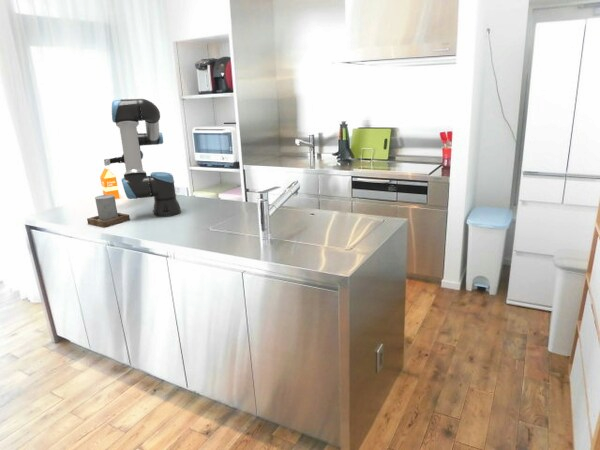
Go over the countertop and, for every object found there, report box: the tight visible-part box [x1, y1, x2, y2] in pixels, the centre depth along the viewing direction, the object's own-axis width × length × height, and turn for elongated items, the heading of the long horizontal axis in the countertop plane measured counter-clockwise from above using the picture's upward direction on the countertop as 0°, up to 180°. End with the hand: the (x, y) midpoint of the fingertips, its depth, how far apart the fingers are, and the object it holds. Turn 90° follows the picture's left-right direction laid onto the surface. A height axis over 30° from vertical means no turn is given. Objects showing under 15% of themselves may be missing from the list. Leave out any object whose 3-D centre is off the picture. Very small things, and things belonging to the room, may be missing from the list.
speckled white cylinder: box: [94, 194, 119, 221], centre depth 222 cm, size 10×10×12 cm
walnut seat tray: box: [86, 212, 131, 229], centre depth 224 cm, size 15×15×3 cm
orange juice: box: [99, 167, 120, 200], centre depth 277 cm, size 8×9×20 cm
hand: (117, 162), depth 237 cm, fingers open, 13 cm apart
